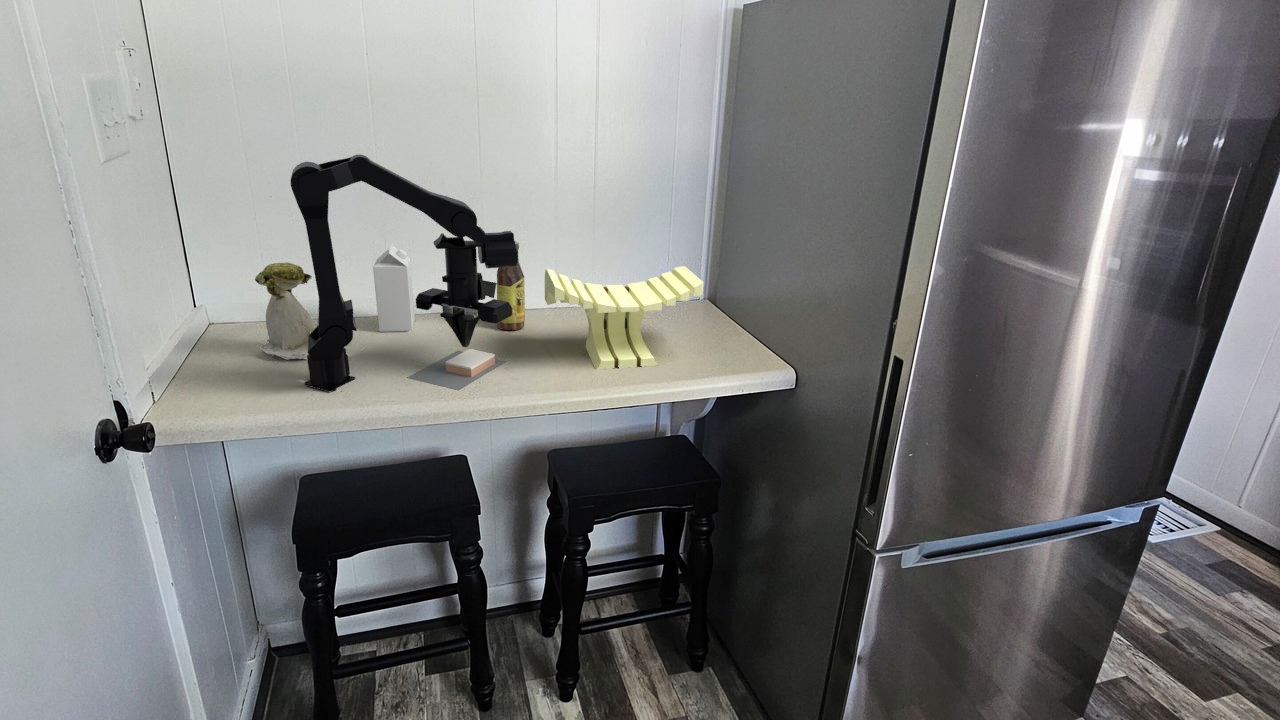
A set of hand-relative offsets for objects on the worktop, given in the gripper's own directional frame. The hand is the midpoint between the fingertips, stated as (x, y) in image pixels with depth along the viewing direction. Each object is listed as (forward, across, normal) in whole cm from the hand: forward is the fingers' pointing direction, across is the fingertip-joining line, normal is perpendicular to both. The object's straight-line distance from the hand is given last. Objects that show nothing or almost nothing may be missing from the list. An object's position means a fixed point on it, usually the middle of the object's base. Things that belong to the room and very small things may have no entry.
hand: (465, 346), depth 141 cm
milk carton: (+5, +28, -12) cm, 30 cm away
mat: (+5, 0, +2) cm, 5 cm away
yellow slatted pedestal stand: (+5, -23, -22) cm, 33 cm away
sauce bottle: (+5, +5, -25) cm, 26 cm away
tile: (+3, +2, 0) cm, 4 cm away
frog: (+5, +36, +9) cm, 37 cm away
